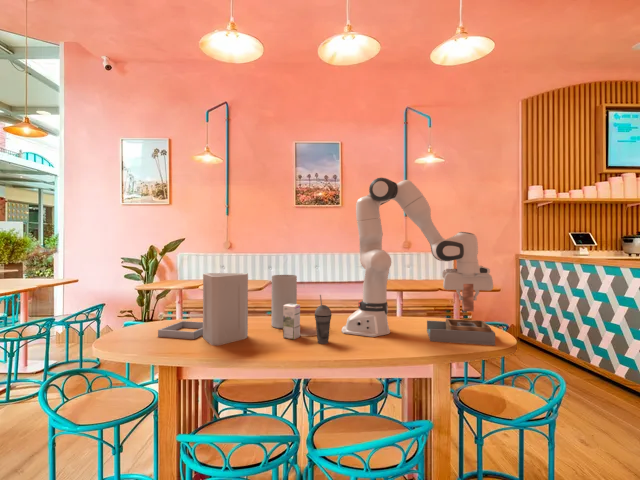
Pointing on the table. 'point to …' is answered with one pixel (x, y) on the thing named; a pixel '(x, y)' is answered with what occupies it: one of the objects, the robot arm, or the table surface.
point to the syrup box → (291, 321)
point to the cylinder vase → (282, 296)
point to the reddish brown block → (468, 298)
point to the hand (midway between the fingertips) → (467, 300)
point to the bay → (458, 334)
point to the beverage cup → (323, 323)
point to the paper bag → (225, 307)
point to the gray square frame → (171, 332)
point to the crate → (467, 325)
